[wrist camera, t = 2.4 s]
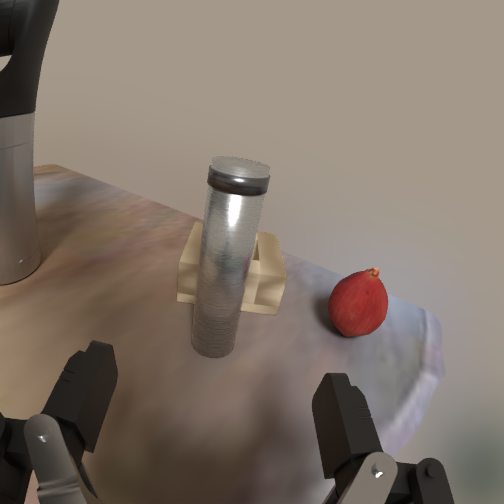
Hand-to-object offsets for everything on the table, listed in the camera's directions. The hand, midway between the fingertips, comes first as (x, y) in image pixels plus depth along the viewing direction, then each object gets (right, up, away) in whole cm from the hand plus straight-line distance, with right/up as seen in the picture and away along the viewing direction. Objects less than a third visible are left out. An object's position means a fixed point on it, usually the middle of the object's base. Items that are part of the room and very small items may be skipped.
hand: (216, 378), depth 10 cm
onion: (+11, -4, +18) cm, 22 cm away
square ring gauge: (-1, +1, +23) cm, 23 cm away
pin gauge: (-2, -3, +14) cm, 15 cm away
